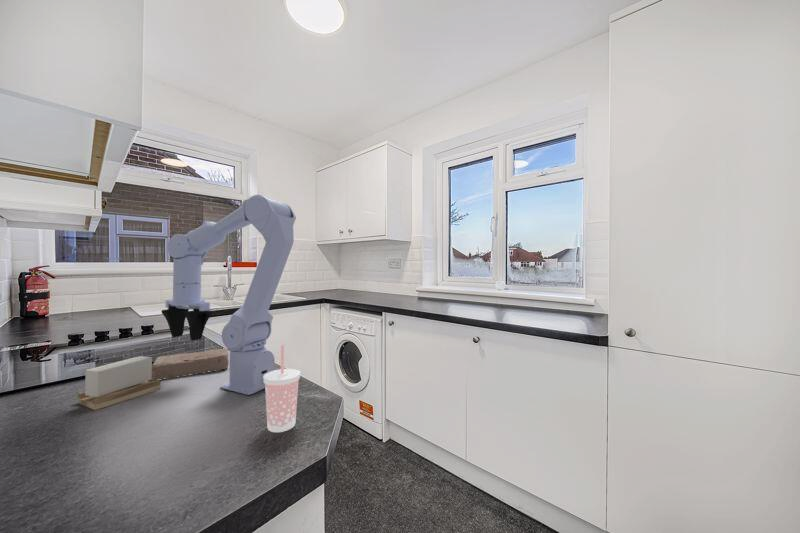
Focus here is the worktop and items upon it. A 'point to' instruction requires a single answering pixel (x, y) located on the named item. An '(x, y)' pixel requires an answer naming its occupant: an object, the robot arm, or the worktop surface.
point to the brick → (189, 363)
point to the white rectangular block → (117, 376)
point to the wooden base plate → (118, 395)
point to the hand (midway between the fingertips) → (186, 338)
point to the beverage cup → (281, 397)
